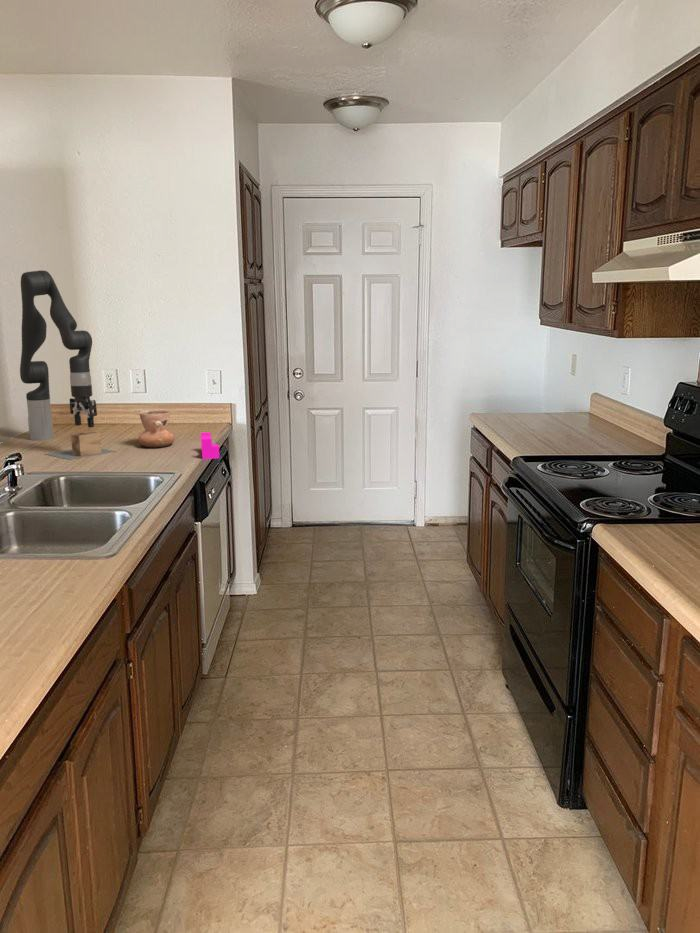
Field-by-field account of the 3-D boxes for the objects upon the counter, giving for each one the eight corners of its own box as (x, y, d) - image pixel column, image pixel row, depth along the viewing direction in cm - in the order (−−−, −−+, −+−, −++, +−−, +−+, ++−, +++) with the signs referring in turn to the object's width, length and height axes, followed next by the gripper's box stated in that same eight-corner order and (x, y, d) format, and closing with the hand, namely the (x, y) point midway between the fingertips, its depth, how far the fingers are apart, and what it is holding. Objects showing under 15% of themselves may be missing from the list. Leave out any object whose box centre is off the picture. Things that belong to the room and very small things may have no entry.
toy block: (219, 458, 279) (218, 438, 278) (202, 459, 278) (201, 439, 276) (217, 450, 294) (216, 432, 292) (201, 451, 292) (200, 432, 291)
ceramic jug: (178, 448, 298) (176, 413, 295) (141, 451, 293) (139, 415, 290) (170, 441, 314) (168, 407, 311) (135, 443, 309) (133, 409, 306)
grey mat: (44, 454, 287) (44, 454, 287) (90, 446, 302) (90, 446, 302) (69, 459, 277) (69, 459, 277) (115, 451, 292) (115, 451, 292)
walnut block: (72, 454, 285) (70, 434, 283) (93, 451, 292) (91, 431, 290) (80, 456, 282) (79, 435, 280) (101, 452, 289) (99, 432, 287)
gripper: (61, 383, 283) (65, 426, 286) (83, 385, 274) (86, 429, 277) (79, 382, 288) (82, 423, 292) (100, 384, 280) (104, 426, 283)
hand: (84, 426), depth 284 cm, fingers open, 8 cm apart
